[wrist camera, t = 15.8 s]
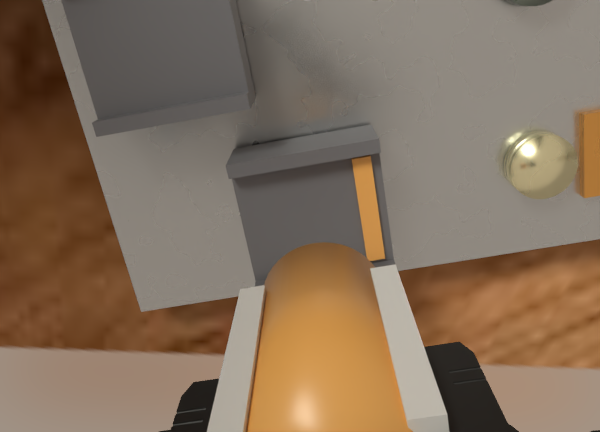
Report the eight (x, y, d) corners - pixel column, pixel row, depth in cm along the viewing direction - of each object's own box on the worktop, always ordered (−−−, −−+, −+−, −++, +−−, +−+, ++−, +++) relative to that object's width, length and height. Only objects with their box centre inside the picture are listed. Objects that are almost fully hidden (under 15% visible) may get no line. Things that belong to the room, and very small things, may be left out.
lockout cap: (251, 252, 18) (212, 427, 10) (376, 232, 18) (429, 397, 10) (274, 359, 19) (255, 581, 12) (391, 342, 19) (448, 558, 11)
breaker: (118, 123, 26) (96, 136, 23) (74, -28, 24) (44, -32, 21) (255, 97, 25) (249, 109, 23) (223, -58, 23) (212, -67, 20)
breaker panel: (150, 293, 31) (135, 321, 29) (49, -36, 26) (18, -41, 23) (611, 219, 30) (643, 241, 27) (615, -152, 24) (657, -173, 21)
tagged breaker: (261, 271, 28) (257, 300, 26) (233, 148, 26) (225, 165, 23) (388, 251, 28) (397, 278, 25) (371, 124, 26) (379, 138, 23)
